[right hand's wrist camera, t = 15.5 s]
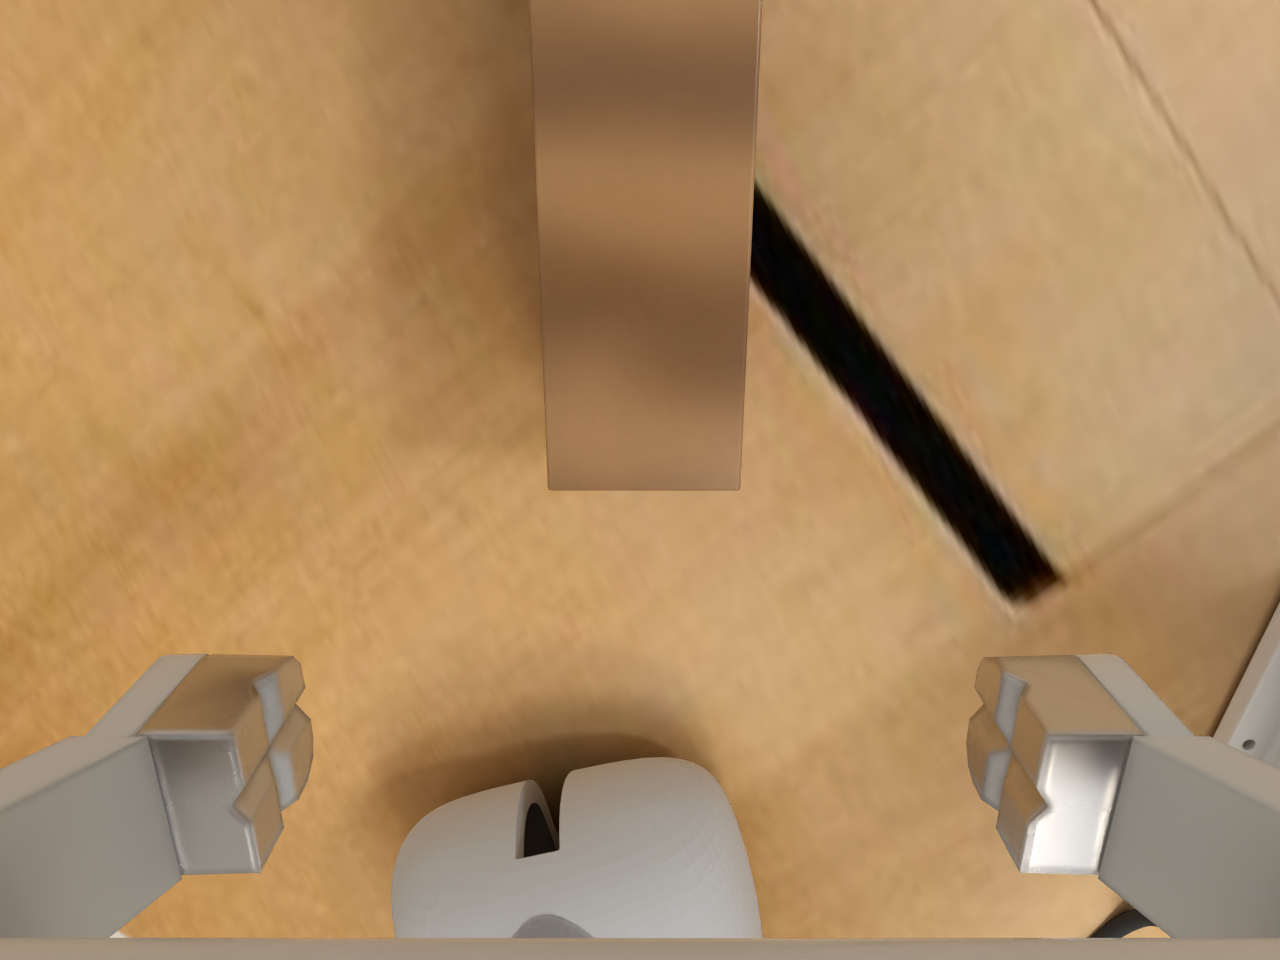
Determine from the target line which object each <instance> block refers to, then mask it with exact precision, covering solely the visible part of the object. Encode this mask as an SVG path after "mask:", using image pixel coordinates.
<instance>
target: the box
mask: <svg viewBox="0 0 1280 960" xmlns="http://www.w3.org/2000/svg"><path fill="white" fill-rule="evenodd" d="M529 18H530V44H531V69H532V95H533V120H534V145H535V171H536V196H537V222H538V247H539V273H540V298H541V324H542V349H543V375H544V400H545V426H546V451H547V477H548V489H549V490H739V489H740V481H741V459H742V437H743V415H744V393H745V371H746V349H747V327H748V305H749V283H750V261H751V239H752V217H753V195H754V174H755V152H756V130H757V108H758V86H759V64H760V42H761V20H762V0H529Z"/></svg>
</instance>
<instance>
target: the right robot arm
mask: <svg viewBox="0 0 1280 960" xmlns="http://www.w3.org/2000/svg"><path fill="white" fill-rule="evenodd" d="M304 689H305V683H304V678H303V673H302V668H301V663H300V662H299V661H298V660H297V659H296V658H295V657H294V656H274V655H225V654H212V655H208V654H170V655H165V656H161V657H159V658H158V659H157V660H156V661H155V662H154V663H153V664H152V665H151V666H150V668H149V669H148V670H147V671H146V672H145V673H144V674H143V675H142V676H141V677H140V678H139V679H138V680H137V681H136V682H135V683H134V684H133V685H132V687H131V688H130V689H129V690H128V691H127V692H126V693H125V694H124V695H123V696H122V697H121V698H120V699H119V700H118V701H117V702H116V703H115V705H114V706H113V707H112V708H111V709H110V710H109V711H108V712H107V713H106V714H105V715H104V716H103V717H102V718H101V719H100V720H99V721H98V722H97V724H96V725H95V726H94V727H93V728H92V729H91V730H90V731H89V732H88V733H87V734H86V735H85V736H70V737H68V738H66V739H63V740H61V741H59V742H57V743H55V744H53V745H51V746H48V747H46V748H44V749H42V750H40V751H38V752H35V753H33V754H31V755H29V756H27V757H25V758H23V759H20V760H18V761H16V762H14V763H12V764H10V765H8V766H5V767H3V768H1V769H0V960H1280V602H1279V604H1278V606H1277V608H1276V610H1275V612H1274V614H1273V617H1272V619H1271V621H1270V623H1269V625H1268V627H1267V629H1266V631H1265V633H1264V635H1263V637H1262V639H1261V641H1260V643H1259V645H1258V647H1257V649H1256V651H1255V653H1254V655H1253V657H1252V659H1251V661H1250V663H1249V665H1248V667H1247V669H1246V671H1245V673H1244V675H1243V677H1242V679H1241V681H1240V683H1239V685H1238V688H1237V690H1236V692H1235V694H1234V696H1233V698H1232V700H1231V702H1230V704H1229V706H1228V708H1227V710H1226V712H1225V714H1224V716H1223V718H1222V720H1221V722H1220V724H1219V726H1218V728H1217V730H1216V732H1215V734H1214V736H1213V738H1212V737H1210V736H1195V735H1194V734H1193V733H1192V732H1191V731H1190V730H1189V729H1188V728H1187V727H1186V726H1185V725H1184V723H1183V722H1182V721H1181V720H1180V719H1179V718H1178V717H1177V716H1176V715H1175V714H1174V713H1173V712H1172V711H1171V710H1170V709H1169V708H1168V707H1167V705H1166V704H1165V703H1164V702H1163V701H1162V700H1161V699H1160V698H1159V697H1158V696H1157V695H1156V694H1155V693H1154V692H1153V691H1152V690H1151V689H1150V687H1149V686H1148V685H1147V684H1146V683H1145V682H1144V681H1143V680H1142V679H1141V678H1140V677H1139V676H1138V675H1137V674H1136V673H1135V672H1134V671H1133V669H1132V668H1131V667H1130V666H1129V665H1128V664H1127V663H1126V662H1125V661H1124V660H1123V659H1122V658H1121V657H1118V656H1116V655H1113V654H1111V653H1107V654H1080V655H1057V656H1017V657H983V659H982V661H981V663H980V666H979V668H978V671H977V676H976V682H975V689H976V691H977V692H978V694H979V696H980V697H981V699H982V701H983V702H984V705H983V706H982V707H981V708H980V709H979V710H978V711H977V712H976V713H975V714H974V715H973V716H972V717H971V718H970V719H969V726H968V734H967V742H966V745H967V756H968V767H969V770H970V773H971V777H972V780H973V784H974V786H975V788H976V790H977V792H978V794H979V796H980V798H981V800H983V801H984V802H986V803H987V804H989V805H990V806H992V807H993V808H995V809H996V810H998V811H999V814H998V820H997V826H996V829H997V830H998V832H999V834H1000V836H1001V838H1002V840H1003V842H1004V844H1005V846H1006V847H1007V849H1008V851H1009V853H1010V855H1011V857H1012V859H1013V861H1014V863H1015V864H1016V866H1017V868H1018V870H1019V872H1020V873H1046V874H1082V875H1099V876H1098V879H1099V880H1101V881H1102V882H1103V883H1104V884H1106V885H1107V886H1108V887H1109V888H1110V889H1112V890H1113V891H1114V892H1115V893H1117V894H1118V895H1119V896H1120V897H1122V898H1123V899H1124V900H1125V901H1127V902H1128V903H1129V904H1130V905H1132V906H1133V907H1134V908H1135V909H1132V910H1129V911H1127V912H1124V913H1122V914H1120V915H1118V916H1116V917H1115V918H1113V919H1112V920H1110V921H1109V922H1108V923H1107V924H1105V925H1104V926H1103V927H1102V928H1100V929H1099V930H1098V931H1097V932H1096V933H1095V934H1094V935H1093V936H1092V937H1091V938H109V937H110V936H112V935H113V934H114V933H115V932H116V931H118V930H119V929H120V928H121V927H123V926H124V925H125V924H126V923H128V922H129V921H130V920H131V919H133V918H134V917H135V916H136V915H138V914H139V913H140V912H141V911H143V910H144V909H145V908H146V907H148V906H149V905H150V904H151V903H153V902H154V901H155V900H156V899H157V898H159V897H160V896H161V895H162V894H164V893H165V892H166V891H167V890H169V889H170V888H171V887H172V886H174V885H175V884H176V883H177V882H179V881H180V880H181V879H182V877H181V875H197V874H232V873H260V872H261V870H262V868H263V866H264V865H265V863H266V861H267V859H268V857H269V855H270V853H271V851H272V849H273V848H274V846H275V844H276V842H277V840H278V838H279V836H280V834H281V832H282V830H283V829H284V825H283V820H282V814H281V811H282V810H284V809H285V808H287V807H288V806H290V805H291V804H293V803H294V802H296V801H297V800H299V798H300V796H301V794H302V792H303V789H304V787H305V785H306V783H307V781H308V777H309V773H310V768H311V764H312V759H313V732H312V725H311V719H310V718H309V717H308V716H307V715H306V714H305V713H304V712H303V711H302V710H301V709H300V708H299V707H298V706H297V705H296V702H297V701H298V699H299V697H300V696H301V694H302V692H303V691H304ZM1146 926H1156V927H1159V928H1160V929H1161V930H1163V931H1164V932H1165V933H1166V934H1167V935H1169V936H1170V937H1171V938H1122V937H1123V936H1125V935H1127V934H1129V933H1131V932H1132V931H1135V930H1137V929H1140V928H1142V927H1146Z"/></svg>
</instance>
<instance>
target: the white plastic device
mask: <svg viewBox="0 0 1280 960" xmlns="http://www.w3.org/2000/svg"><path fill="white" fill-rule="evenodd" d="M392 916H393V923H394V931H395V938H763V937H762V928H761V920H760V913H759V907H758V901H757V895H756V891H755V886H754V881H753V877H752V872H751V868H750V864H749V860H748V856H747V852H746V849H745V845H744V842H743V839H742V835H741V832H740V829H739V826H738V823H737V820H736V817H735V815H734V812H733V810H732V808H731V805H730V803H729V801H728V798H727V796H726V795H725V793H724V791H723V789H722V787H721V786H720V784H719V783H718V781H717V780H716V779H715V777H714V776H713V775H712V774H711V773H710V772H709V771H708V770H706V769H705V768H703V767H701V766H700V765H698V764H696V763H694V762H691V761H688V760H684V759H679V758H672V757H650V758H639V759H631V760H623V761H618V762H612V763H607V764H601V765H596V766H591V767H587V768H582V769H577V770H573V771H571V772H570V773H569V774H568V776H567V777H566V779H565V782H564V785H563V789H562V795H561V803H560V818H559V838H558V834H557V831H556V828H555V826H554V823H553V820H552V817H551V814H550V811H549V808H548V805H547V803H546V800H545V797H544V795H543V793H542V791H541V789H540V787H539V785H538V784H537V783H536V782H535V781H534V780H526V781H522V782H518V783H513V784H509V785H505V786H500V787H496V788H492V789H489V790H485V791H481V792H477V793H474V794H471V795H467V796H464V797H461V798H458V799H456V800H453V801H450V802H448V803H446V804H444V805H442V806H440V807H438V808H436V809H434V810H433V811H431V812H430V813H428V814H427V815H426V816H424V817H423V818H422V819H421V820H420V821H419V822H418V823H417V824H416V825H415V826H414V827H413V828H412V829H411V831H410V832H409V833H408V835H407V836H406V838H405V840H404V841H403V844H402V846H401V848H400V850H399V853H398V855H397V859H396V863H395V868H394V872H393V880H392Z"/></svg>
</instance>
